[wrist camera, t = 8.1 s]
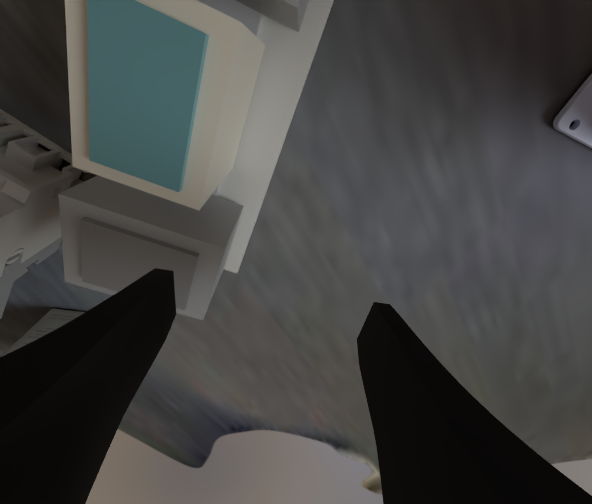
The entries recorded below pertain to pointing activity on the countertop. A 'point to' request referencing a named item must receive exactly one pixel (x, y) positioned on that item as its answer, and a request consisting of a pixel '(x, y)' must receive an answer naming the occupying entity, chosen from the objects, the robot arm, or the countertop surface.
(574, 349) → the countertop surface
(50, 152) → the circuit breaker
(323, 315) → the countertop surface
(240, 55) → the block
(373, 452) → the countertop surface
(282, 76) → the rail board
